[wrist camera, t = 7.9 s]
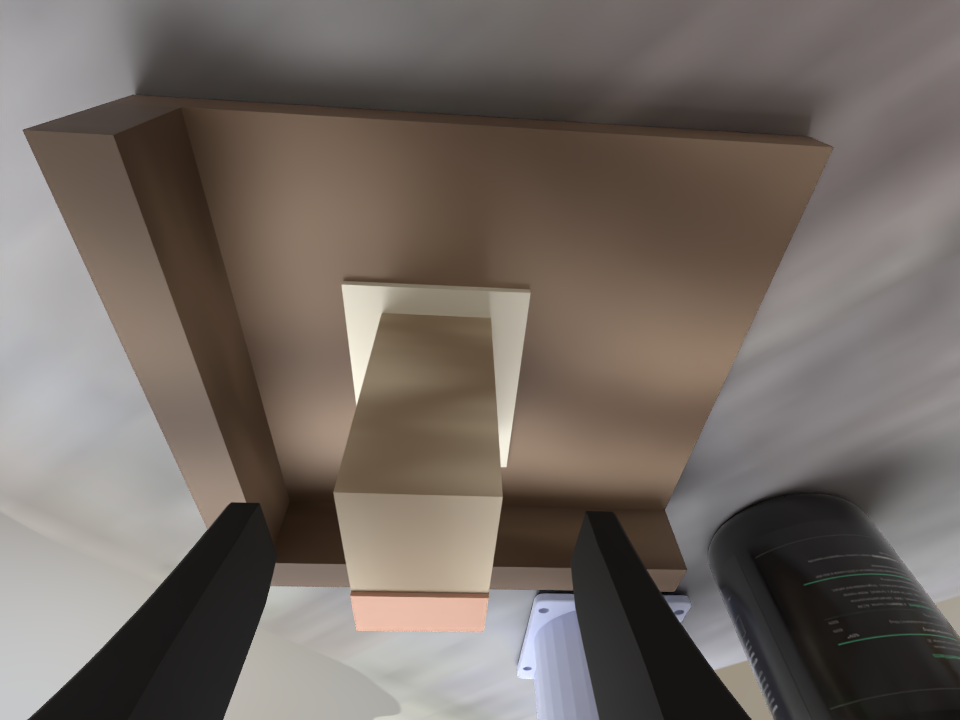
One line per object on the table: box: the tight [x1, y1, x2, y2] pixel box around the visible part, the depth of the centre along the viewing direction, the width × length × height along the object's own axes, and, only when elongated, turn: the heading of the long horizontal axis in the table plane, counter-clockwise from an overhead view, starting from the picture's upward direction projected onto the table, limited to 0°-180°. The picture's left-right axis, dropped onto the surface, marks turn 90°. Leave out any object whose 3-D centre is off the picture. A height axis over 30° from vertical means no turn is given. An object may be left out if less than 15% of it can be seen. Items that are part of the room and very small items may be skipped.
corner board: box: [23, 95, 834, 592], centre depth 15 cm, size 15×16×4 cm
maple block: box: [333, 313, 503, 632], centre depth 13 cm, size 3×5×6 cm, turn 176°
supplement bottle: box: [708, 493, 960, 720], centre depth 18 cm, size 7×7×12 cm
